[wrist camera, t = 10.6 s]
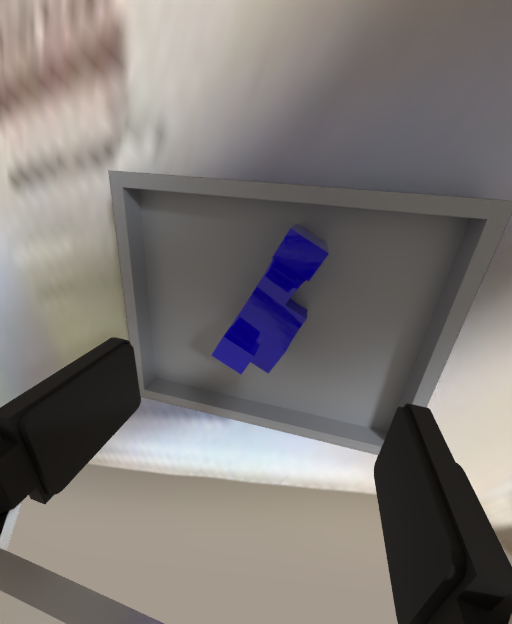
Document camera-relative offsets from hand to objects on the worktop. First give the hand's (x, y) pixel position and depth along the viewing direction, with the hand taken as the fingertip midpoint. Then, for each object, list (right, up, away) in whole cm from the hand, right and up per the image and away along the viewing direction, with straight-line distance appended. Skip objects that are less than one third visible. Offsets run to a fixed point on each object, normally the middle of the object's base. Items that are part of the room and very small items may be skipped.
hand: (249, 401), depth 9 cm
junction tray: (+2, +3, +9) cm, 10 cm away
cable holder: (+2, +4, +8) cm, 9 cm away
